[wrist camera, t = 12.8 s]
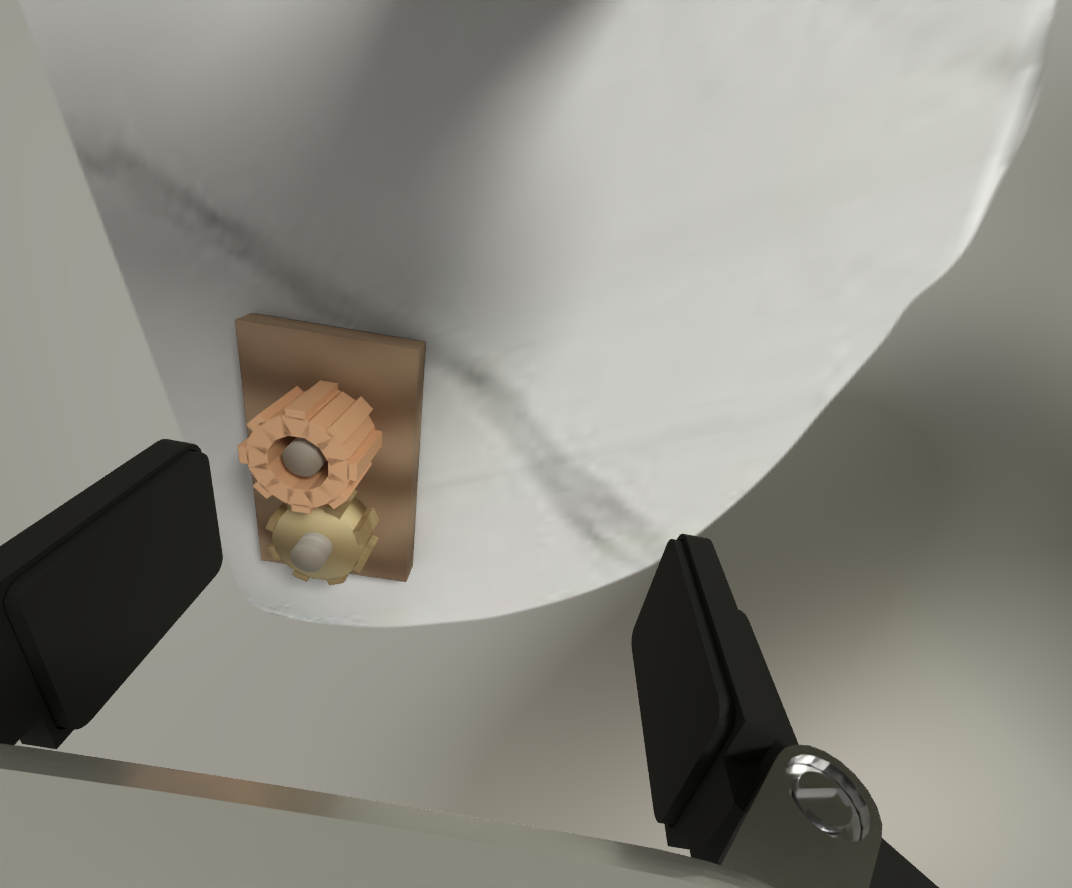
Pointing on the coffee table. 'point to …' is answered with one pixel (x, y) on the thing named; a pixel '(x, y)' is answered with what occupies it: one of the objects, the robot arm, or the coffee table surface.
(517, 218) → the coffee table surface
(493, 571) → the coffee table surface
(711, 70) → the coffee table surface
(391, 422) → the gear board
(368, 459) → the loose gear
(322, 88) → the coffee table surface
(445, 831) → the robot arm
